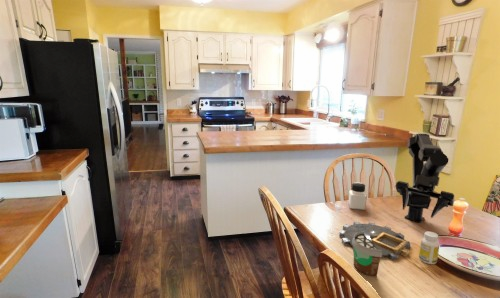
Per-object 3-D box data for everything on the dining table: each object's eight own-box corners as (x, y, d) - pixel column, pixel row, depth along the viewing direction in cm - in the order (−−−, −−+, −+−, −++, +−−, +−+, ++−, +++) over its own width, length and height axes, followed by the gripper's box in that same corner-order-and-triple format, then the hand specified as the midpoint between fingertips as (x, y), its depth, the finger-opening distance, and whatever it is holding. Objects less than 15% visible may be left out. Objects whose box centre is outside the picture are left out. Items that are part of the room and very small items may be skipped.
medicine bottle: (365, 209, 138) (367, 186, 136) (350, 208, 140) (352, 185, 137) (362, 204, 145) (365, 181, 142) (348, 202, 146) (350, 180, 144)
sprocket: (359, 219, 128) (360, 212, 127) (420, 242, 109) (422, 234, 109) (326, 238, 112) (327, 230, 111) (391, 269, 93) (392, 259, 93)
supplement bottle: (434, 257, 100) (438, 231, 98) (438, 266, 95) (443, 239, 93) (417, 254, 102) (420, 229, 100) (420, 262, 97) (424, 236, 95)
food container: (343, 257, 100) (346, 231, 98) (360, 256, 100) (363, 230, 98) (360, 280, 88) (363, 251, 86) (379, 279, 88) (382, 250, 86)
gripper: (399, 161, 109) (386, 196, 105) (458, 172, 97) (446, 213, 92) (403, 174, 117) (391, 208, 112) (458, 186, 104) (447, 225, 100)
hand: (417, 213), depth 104 cm, fingers open, 9 cm apart
